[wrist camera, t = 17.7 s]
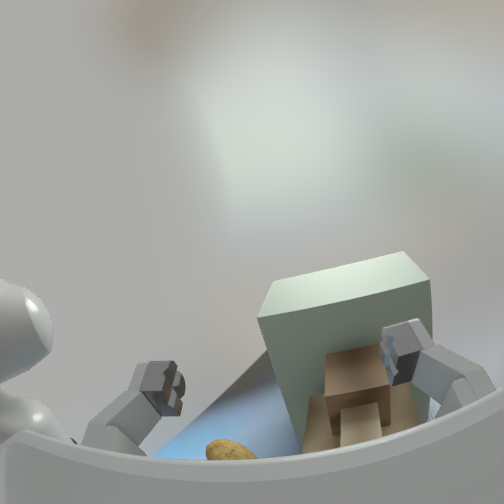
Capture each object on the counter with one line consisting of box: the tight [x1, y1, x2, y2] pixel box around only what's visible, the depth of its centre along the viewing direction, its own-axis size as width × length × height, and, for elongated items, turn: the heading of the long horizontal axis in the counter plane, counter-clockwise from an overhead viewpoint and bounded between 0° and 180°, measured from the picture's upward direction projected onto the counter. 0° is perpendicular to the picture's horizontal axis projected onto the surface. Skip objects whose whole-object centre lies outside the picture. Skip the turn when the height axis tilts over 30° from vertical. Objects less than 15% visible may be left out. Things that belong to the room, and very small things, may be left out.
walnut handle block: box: [324, 343, 391, 447], centre depth 22 cm, size 6×16×6 cm, turn 167°
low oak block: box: [302, 381, 420, 454], centre depth 27 cm, size 12×11×15 cm
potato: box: [206, 439, 258, 460], centre depth 36 cm, size 7×11×6 cm, turn 37°
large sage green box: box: [257, 251, 432, 451], centre depth 38 cm, size 20×12×26 cm, turn 77°
